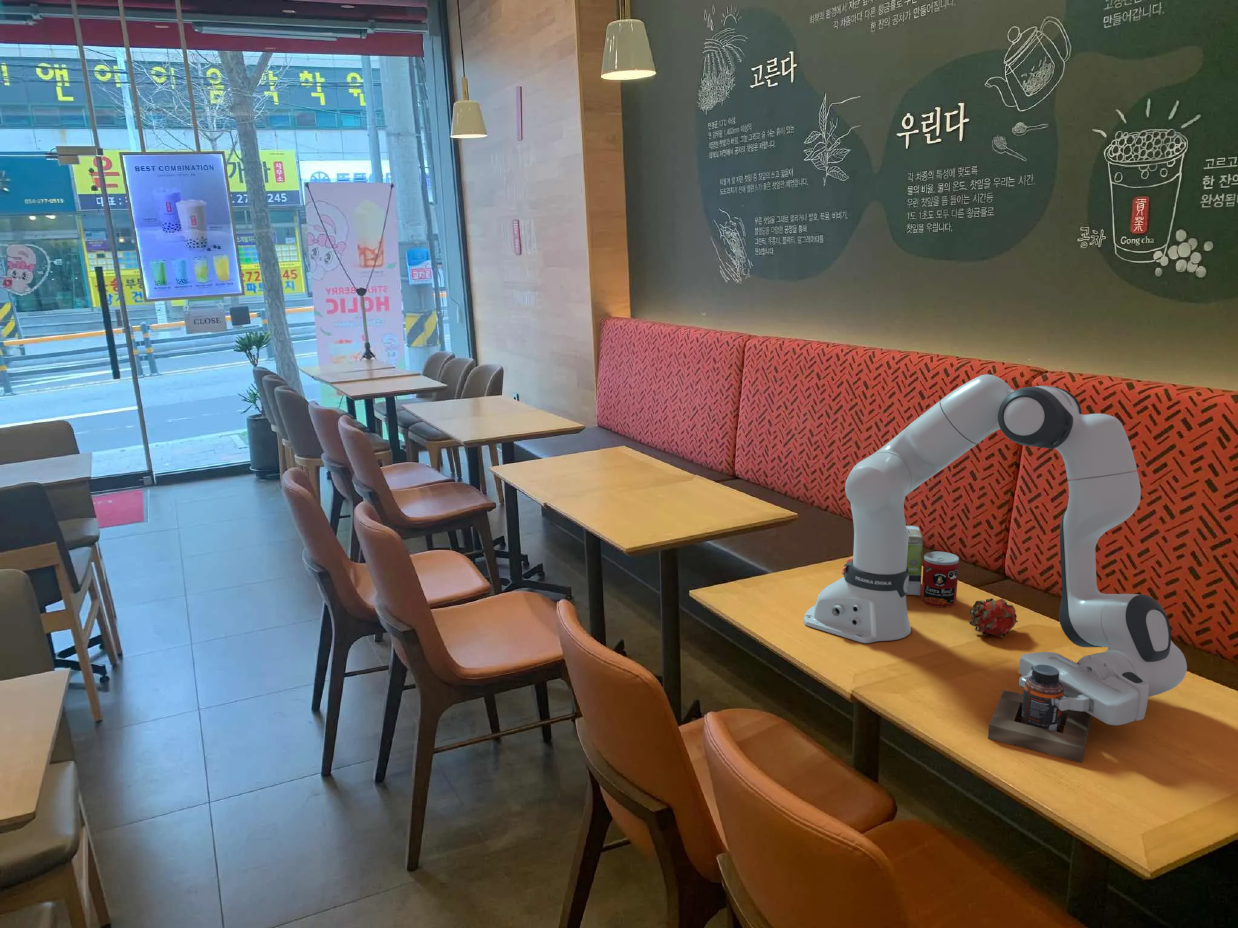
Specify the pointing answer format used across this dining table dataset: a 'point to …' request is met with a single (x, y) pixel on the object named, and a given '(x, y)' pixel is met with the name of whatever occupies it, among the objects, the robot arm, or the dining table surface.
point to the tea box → (914, 560)
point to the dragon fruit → (993, 617)
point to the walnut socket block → (1039, 730)
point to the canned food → (940, 579)
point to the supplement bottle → (1042, 698)
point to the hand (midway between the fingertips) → (1039, 693)
